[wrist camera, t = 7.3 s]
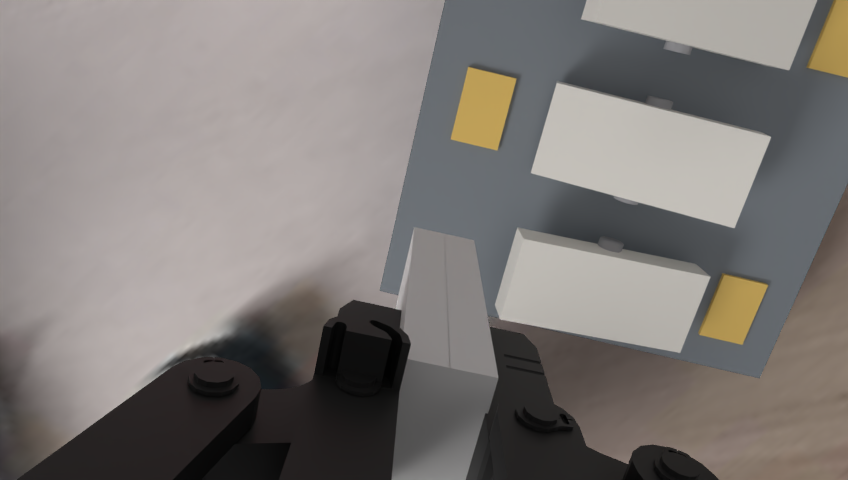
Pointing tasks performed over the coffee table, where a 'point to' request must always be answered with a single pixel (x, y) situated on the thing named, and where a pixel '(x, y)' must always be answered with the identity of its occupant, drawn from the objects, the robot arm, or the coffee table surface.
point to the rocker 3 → (600, 290)
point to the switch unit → (601, 213)
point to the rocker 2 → (649, 153)
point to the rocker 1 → (713, 25)
